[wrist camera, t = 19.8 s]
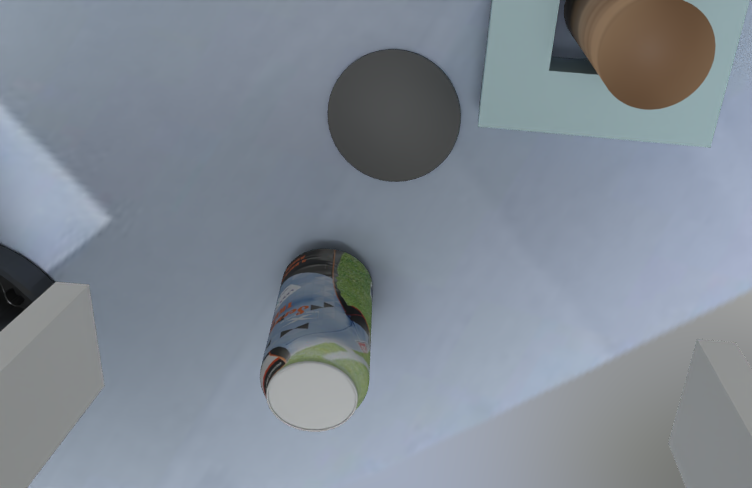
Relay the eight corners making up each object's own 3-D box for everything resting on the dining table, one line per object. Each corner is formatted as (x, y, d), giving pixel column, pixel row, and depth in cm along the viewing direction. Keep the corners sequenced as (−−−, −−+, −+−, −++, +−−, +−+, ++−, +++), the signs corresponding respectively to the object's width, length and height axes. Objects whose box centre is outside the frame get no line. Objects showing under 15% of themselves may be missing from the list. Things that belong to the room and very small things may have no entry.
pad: (327, 173, 44) (326, 175, 44) (330, 44, 41) (329, 44, 41) (453, 185, 44) (453, 187, 43) (467, 54, 40) (467, 55, 40)
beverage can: (307, 225, 46) (251, 319, 36) (407, 272, 47) (382, 380, 36) (274, 297, 49) (213, 406, 38) (369, 342, 49) (336, 461, 39)
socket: (479, 108, 41) (478, 126, 38) (505, -122, 36) (507, -125, 33) (690, 126, 40) (710, 147, 36) (749, -109, 35) (779, -112, 31)
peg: (558, 43, 39) (590, 104, 27) (570, -34, 37) (611, -7, 25) (632, 48, 39) (699, 114, 26) (648, -29, 37) (728, 1, 24)
